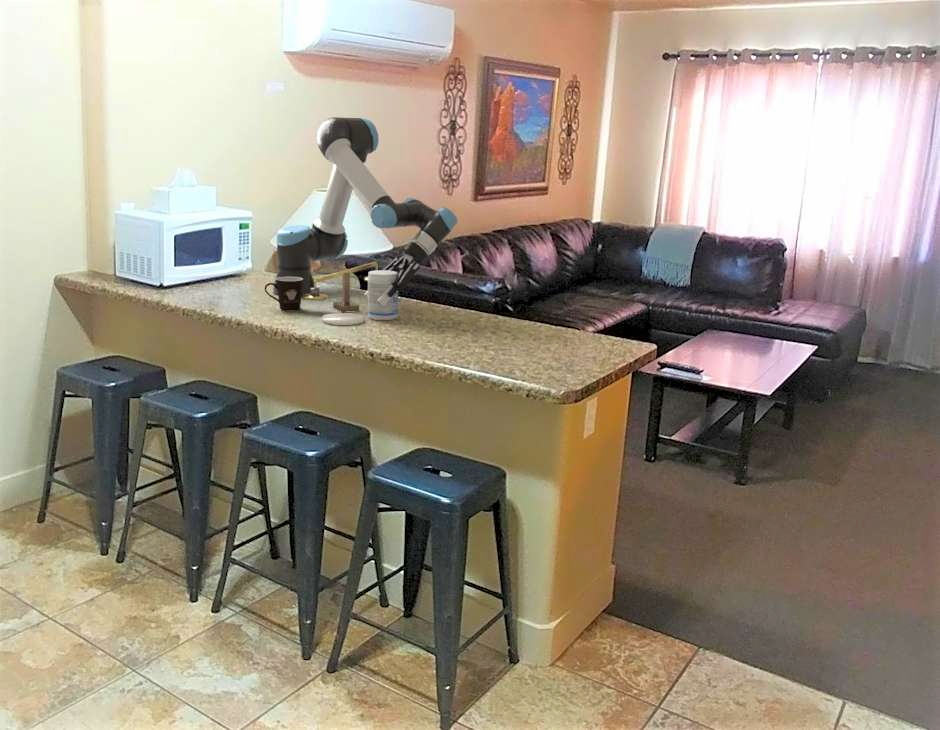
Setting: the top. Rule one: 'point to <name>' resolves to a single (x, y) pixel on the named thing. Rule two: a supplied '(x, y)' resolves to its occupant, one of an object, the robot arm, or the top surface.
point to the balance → (346, 303)
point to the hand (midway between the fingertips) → (373, 300)
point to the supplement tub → (376, 287)
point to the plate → (342, 319)
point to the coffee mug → (288, 292)
